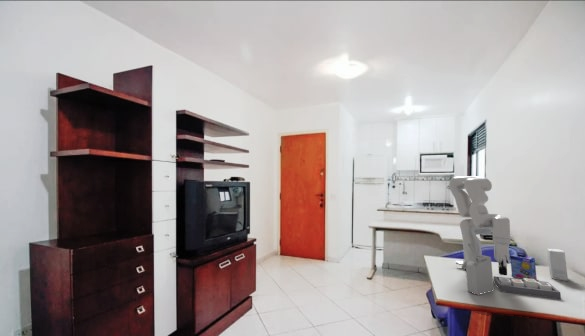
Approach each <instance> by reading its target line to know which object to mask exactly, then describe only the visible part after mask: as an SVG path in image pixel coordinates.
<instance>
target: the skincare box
mask: <svg viewBox="0 0 585 336" xmlns="http://www.w3.org/2000/svg"><path fill="white" fill-rule="evenodd" d="M546 250H547V259H548V260H547V261H548V268H549V275H550V277H551V278H552V279H553V280H559V281H566V282H568V281H569V277H568V269H567V262H566V252H565V251H564V250H562V249H558V248H546Z"/></svg>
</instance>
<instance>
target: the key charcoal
mask: <svg viewBox="0 0 585 336" xmlns="http://www.w3.org/2000/svg"><path fill="white" fill-rule="evenodd" d="M545 282H546V281H543V282H538V286H539V287H540V288H541V289H543V290H552V286H553V285H552V284H551V283H550V284H551V285H552V286H551V285H550V284H548V283H549V282H548V283H545Z"/></svg>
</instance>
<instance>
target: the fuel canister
mask: <svg viewBox="0 0 585 336" xmlns="http://www.w3.org/2000/svg"><path fill="white" fill-rule="evenodd" d="M468 246H469V247H470V249H471V251H472V253H473V257H472V260H471V261H469V262H468V263H467V265H466V270H465V271H466V285H467V292H468V291H470V292H469V293H471V292H473V293H472V294H474V293H475V294H474V295H476V294H480V293H484V292H488V291H491V292H493V291H494V277H493V267H492V266H493V265H492V257H491V256H488V255H484V254H482V255H477V256H475V252H474V249H473V248H472V247H471V245H470V244H468ZM492 290H493V291H492ZM488 293H489V292H488ZM484 294H485V293H484Z"/></svg>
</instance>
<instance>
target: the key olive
mask: <svg viewBox="0 0 585 336" xmlns="http://www.w3.org/2000/svg"><path fill="white" fill-rule="evenodd" d="M523 279H524V284H525V285H526V286H527V287H529V288H538V282H537V281H538V280H534V279H528V278H523Z"/></svg>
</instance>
